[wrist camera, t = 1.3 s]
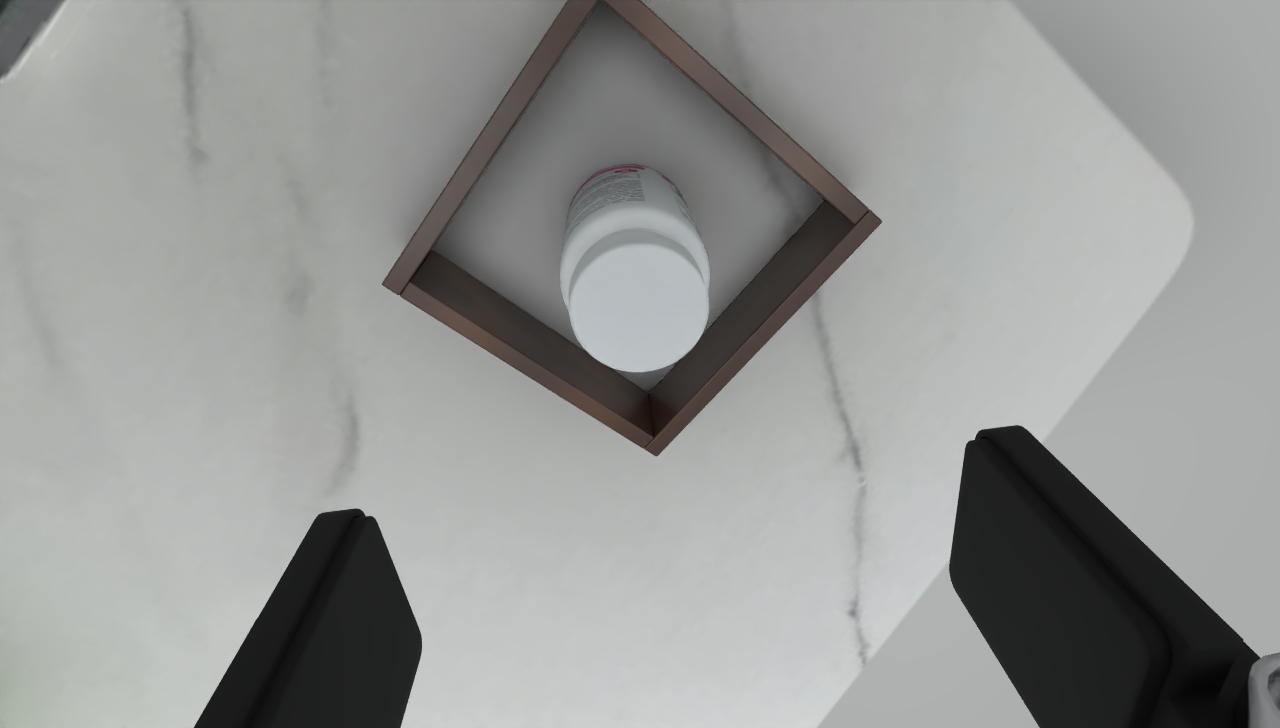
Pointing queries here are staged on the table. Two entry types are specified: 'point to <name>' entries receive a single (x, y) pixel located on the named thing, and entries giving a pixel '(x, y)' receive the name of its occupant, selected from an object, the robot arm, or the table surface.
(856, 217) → the square wooden frame
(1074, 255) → the table surface
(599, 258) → the pill bottle
